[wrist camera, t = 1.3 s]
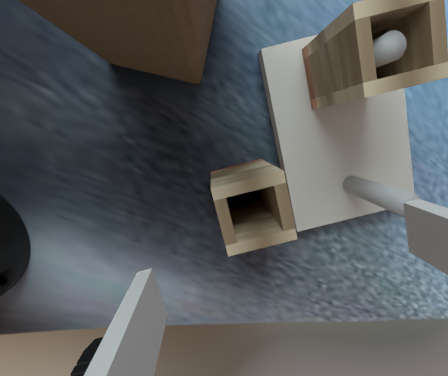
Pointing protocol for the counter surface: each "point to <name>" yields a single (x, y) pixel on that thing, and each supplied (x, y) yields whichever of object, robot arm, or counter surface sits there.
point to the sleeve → (253, 206)
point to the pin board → (338, 140)
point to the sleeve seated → (364, 53)
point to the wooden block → (138, 32)
